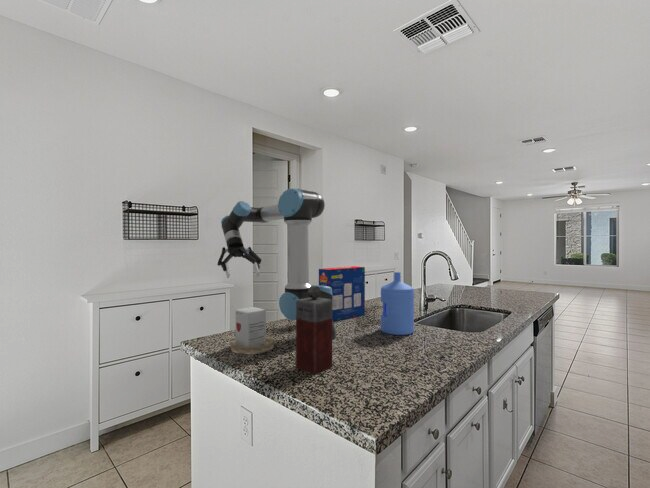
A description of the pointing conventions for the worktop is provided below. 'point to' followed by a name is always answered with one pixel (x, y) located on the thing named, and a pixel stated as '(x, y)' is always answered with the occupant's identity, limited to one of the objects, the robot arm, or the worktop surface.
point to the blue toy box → (345, 291)
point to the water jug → (397, 307)
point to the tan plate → (252, 350)
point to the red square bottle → (314, 332)
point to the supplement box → (250, 327)
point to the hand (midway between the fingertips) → (243, 275)
